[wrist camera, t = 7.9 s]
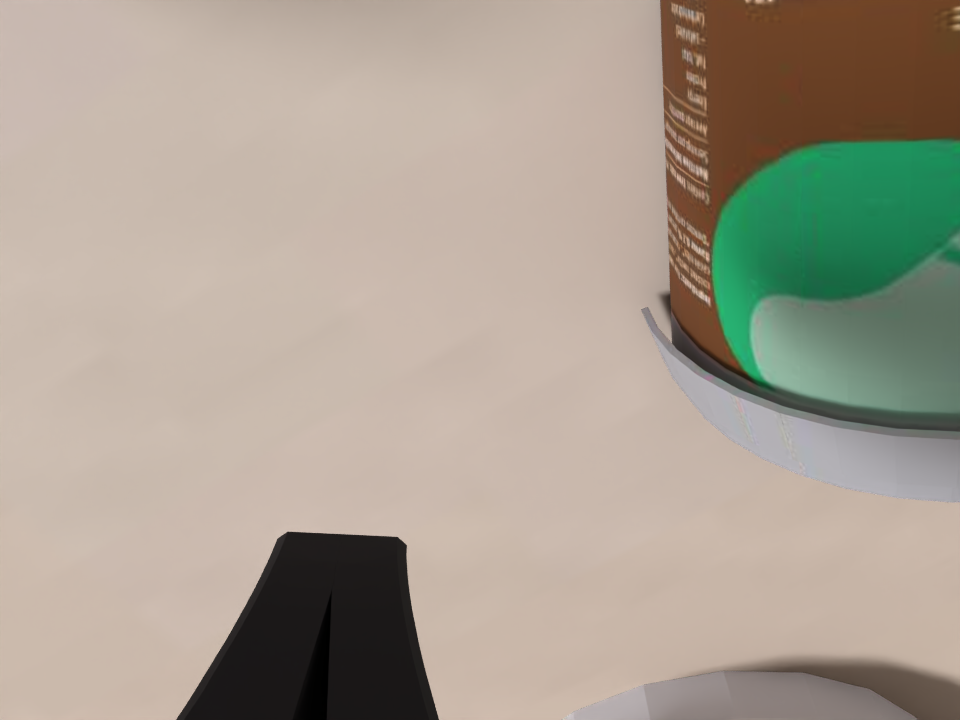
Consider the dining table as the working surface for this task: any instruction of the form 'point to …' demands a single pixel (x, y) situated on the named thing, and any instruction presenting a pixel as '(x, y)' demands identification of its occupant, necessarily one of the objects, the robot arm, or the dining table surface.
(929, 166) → the food container
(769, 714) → the lid
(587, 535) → the dining table surface
